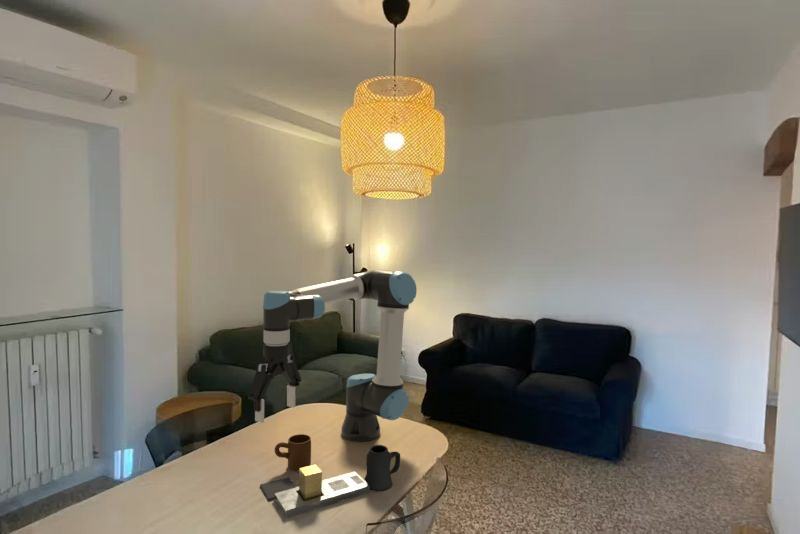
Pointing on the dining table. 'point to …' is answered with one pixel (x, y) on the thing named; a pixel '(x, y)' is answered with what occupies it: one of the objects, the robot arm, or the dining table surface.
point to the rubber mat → (277, 487)
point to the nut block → (310, 482)
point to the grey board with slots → (331, 493)
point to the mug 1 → (296, 451)
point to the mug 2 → (380, 467)
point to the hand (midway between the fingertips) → (276, 413)
